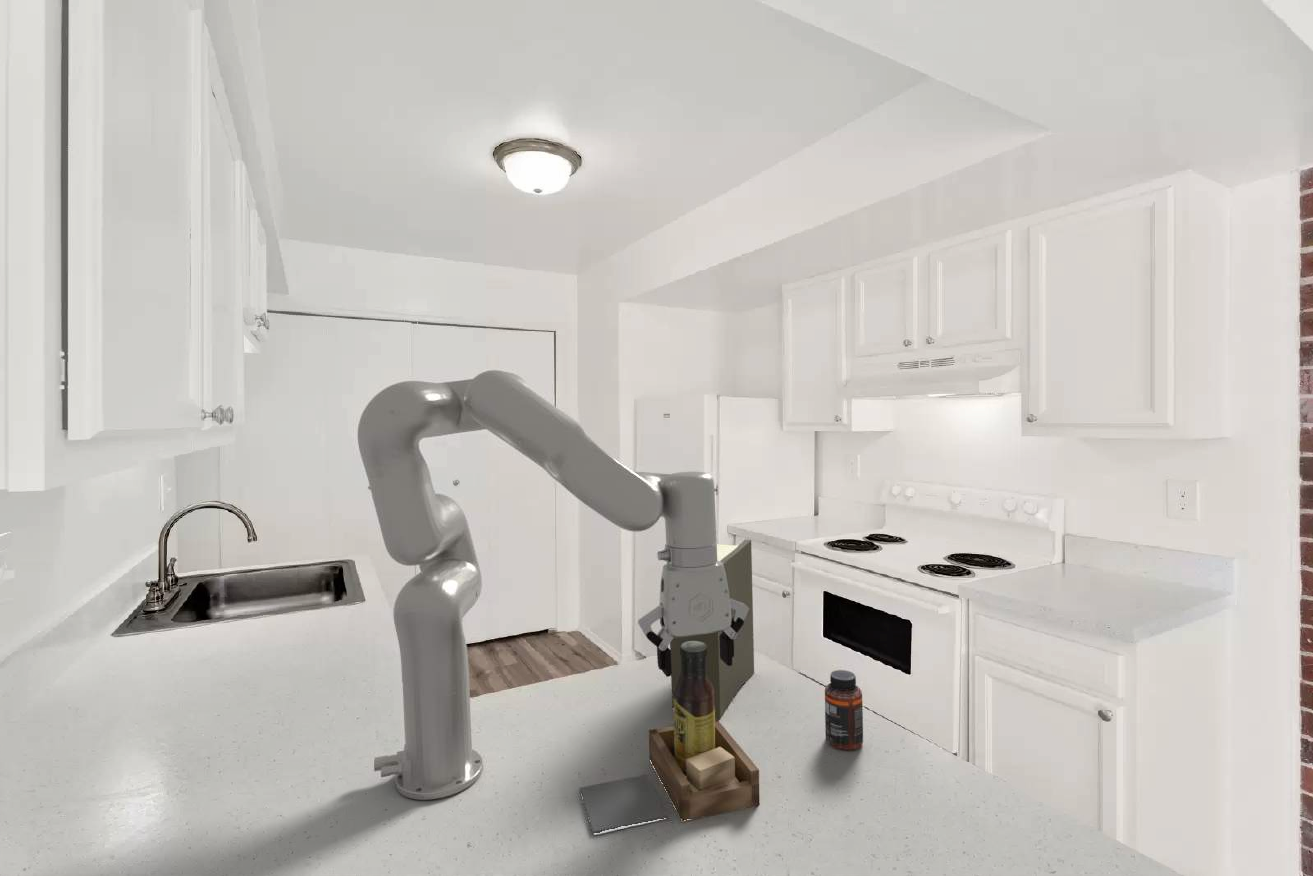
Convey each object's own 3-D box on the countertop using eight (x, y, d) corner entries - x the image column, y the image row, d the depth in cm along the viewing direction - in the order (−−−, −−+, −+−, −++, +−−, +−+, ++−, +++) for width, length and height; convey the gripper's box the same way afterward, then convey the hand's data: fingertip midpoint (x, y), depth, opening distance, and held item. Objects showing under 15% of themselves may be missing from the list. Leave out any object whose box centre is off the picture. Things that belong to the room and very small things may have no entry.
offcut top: (700, 792, 87) (700, 770, 87) (686, 780, 90) (686, 759, 90) (735, 777, 91) (734, 757, 90) (720, 766, 93) (720, 746, 93)
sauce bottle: (672, 761, 100) (669, 637, 99) (711, 759, 100) (709, 635, 99) (677, 787, 93) (674, 653, 92) (719, 783, 94) (717, 651, 93)
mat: (593, 836, 83) (593, 831, 83) (579, 791, 93) (579, 787, 93) (666, 819, 86) (666, 815, 86) (645, 778, 96) (645, 774, 95)
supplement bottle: (863, 735, 106) (863, 669, 106) (862, 754, 101) (862, 684, 100) (826, 730, 108) (825, 665, 108) (823, 748, 103) (823, 680, 102)
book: (719, 724, 112) (714, 568, 110) (670, 714, 116) (665, 564, 114) (754, 673, 132) (751, 539, 129) (711, 666, 136) (708, 536, 133)
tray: (682, 822, 85) (681, 786, 85) (649, 761, 100) (648, 730, 100) (759, 804, 89) (759, 769, 88) (716, 748, 103) (716, 718, 103)
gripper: (643, 568, 89) (648, 688, 90) (755, 554, 94) (760, 667, 95) (629, 556, 96) (634, 667, 97) (734, 544, 101) (738, 649, 102)
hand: (696, 667), depth 96 cm, fingers open, 9 cm apart
